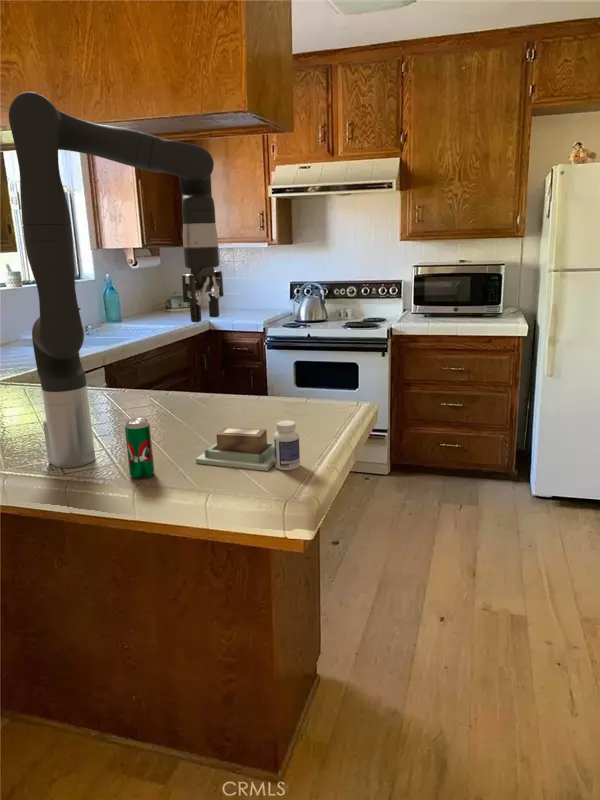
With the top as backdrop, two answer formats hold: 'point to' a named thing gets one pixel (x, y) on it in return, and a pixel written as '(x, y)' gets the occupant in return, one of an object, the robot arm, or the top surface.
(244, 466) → the pale green tray
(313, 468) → the top surface
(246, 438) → the brown block
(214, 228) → the robot arm
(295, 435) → the pill bottle
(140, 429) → the soda can
